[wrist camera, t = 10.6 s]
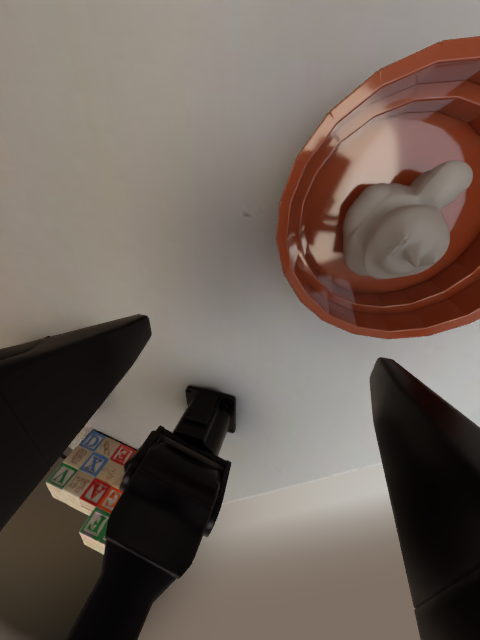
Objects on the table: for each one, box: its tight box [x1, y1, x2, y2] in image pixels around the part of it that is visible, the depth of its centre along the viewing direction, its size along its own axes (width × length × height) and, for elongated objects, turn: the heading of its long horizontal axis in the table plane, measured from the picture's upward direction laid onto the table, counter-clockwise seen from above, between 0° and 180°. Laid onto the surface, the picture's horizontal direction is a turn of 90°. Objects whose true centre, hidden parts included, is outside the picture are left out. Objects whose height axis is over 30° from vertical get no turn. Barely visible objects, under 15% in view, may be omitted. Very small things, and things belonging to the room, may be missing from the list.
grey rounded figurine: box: [343, 160, 473, 279], centre depth 12 cm, size 5×7×8 cm
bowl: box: [276, 36, 480, 339], centre depth 14 cm, size 13×13×5 cm
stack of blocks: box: [46, 430, 136, 555], centre depth 39 cm, size 21×6×12 cm, turn 75°
